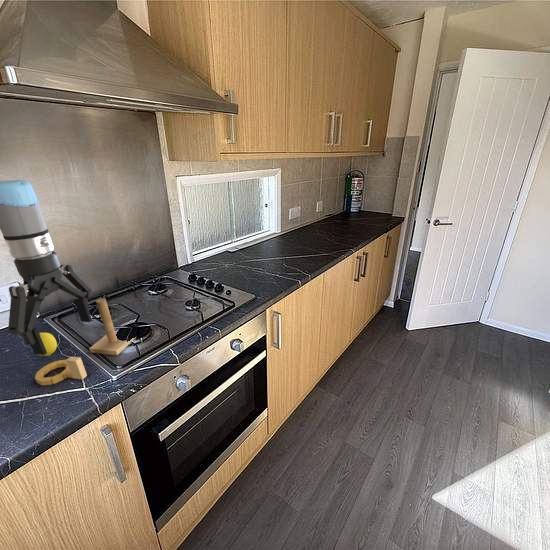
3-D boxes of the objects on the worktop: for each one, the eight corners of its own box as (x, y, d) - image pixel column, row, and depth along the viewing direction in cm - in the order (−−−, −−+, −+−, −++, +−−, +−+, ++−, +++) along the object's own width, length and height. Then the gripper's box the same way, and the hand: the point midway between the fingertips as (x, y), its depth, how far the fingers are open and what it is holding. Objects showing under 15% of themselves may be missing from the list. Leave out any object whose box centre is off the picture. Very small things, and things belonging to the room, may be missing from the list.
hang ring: (28, 383, 76) (19, 365, 73) (56, 362, 83) (49, 344, 81) (72, 389, 73) (64, 370, 71) (96, 366, 81) (90, 349, 79)
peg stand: (90, 352, 87) (74, 306, 81) (111, 335, 95) (98, 292, 89) (117, 355, 85) (103, 309, 79) (136, 337, 93) (124, 294, 87)
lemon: (32, 361, 84) (22, 338, 81) (48, 349, 89) (39, 327, 86) (49, 362, 83) (40, 339, 80) (65, 350, 88) (56, 327, 85)
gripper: (-13, 278, 52) (31, 372, 60) (92, 238, 74) (113, 311, 83) (-46, 276, 53) (1, 368, 62) (67, 238, 76) (90, 309, 84)
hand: (65, 336), depth 72 cm, fingers open, 13 cm apart
